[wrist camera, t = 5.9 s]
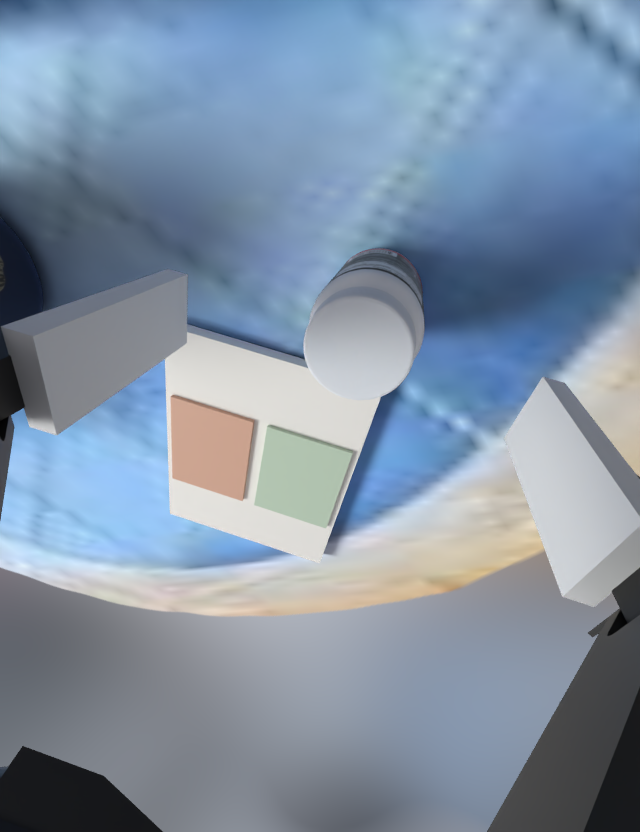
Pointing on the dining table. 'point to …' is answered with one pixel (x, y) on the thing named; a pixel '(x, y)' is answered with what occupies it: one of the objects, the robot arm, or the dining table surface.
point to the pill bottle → (366, 326)
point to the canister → (17, 279)
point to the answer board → (258, 443)
